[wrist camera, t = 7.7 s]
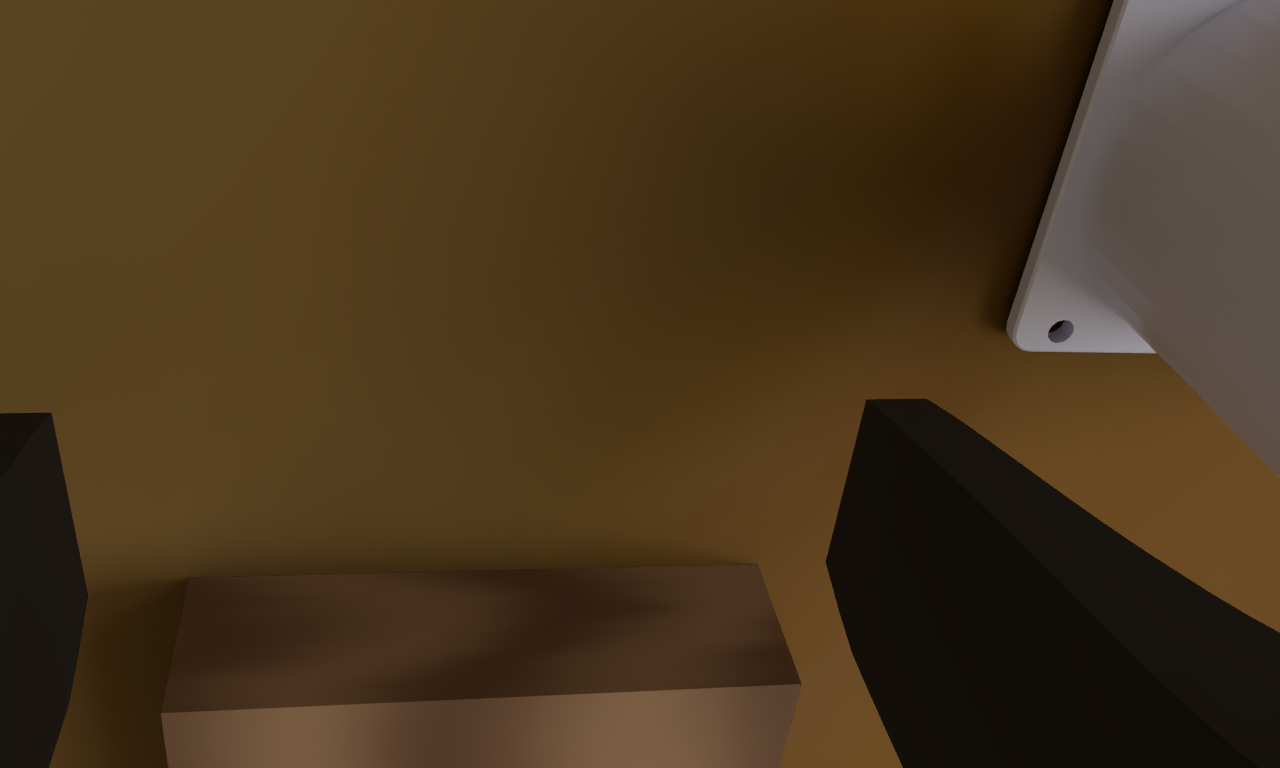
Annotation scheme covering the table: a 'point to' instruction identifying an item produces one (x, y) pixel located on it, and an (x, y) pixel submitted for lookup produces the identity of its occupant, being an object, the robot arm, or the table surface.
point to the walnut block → (481, 670)
